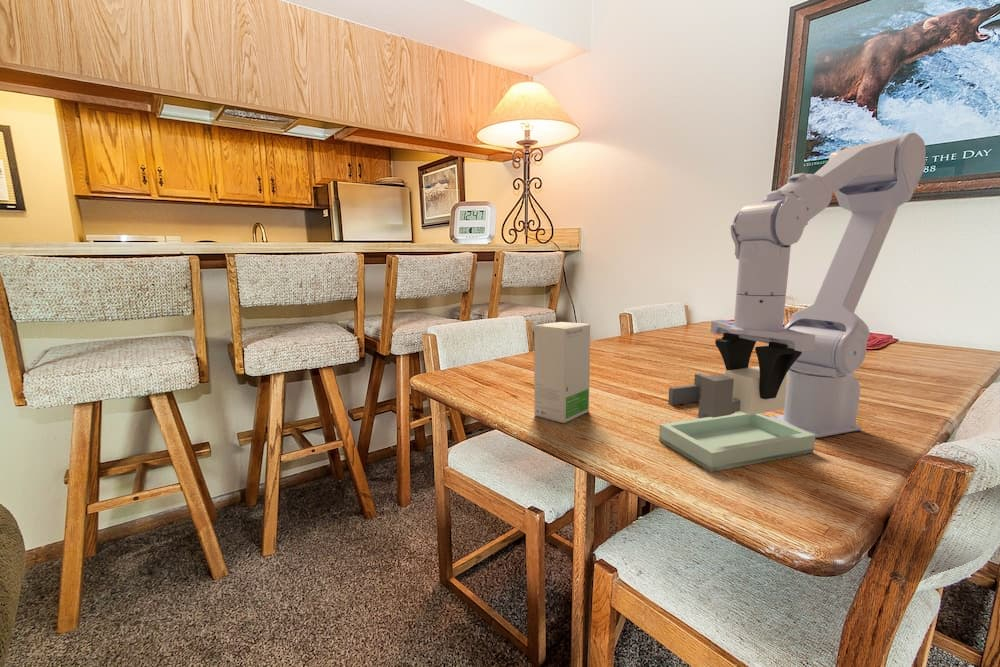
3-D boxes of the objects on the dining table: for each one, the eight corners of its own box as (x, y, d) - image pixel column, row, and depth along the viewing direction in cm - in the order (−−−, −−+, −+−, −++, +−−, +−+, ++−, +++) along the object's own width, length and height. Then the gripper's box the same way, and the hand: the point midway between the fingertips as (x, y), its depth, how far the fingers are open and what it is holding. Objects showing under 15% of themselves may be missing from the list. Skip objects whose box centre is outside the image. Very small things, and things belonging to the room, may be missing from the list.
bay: (697, 399, 81) (699, 373, 80) (734, 414, 73) (736, 385, 72) (668, 403, 79) (669, 376, 78) (702, 419, 71) (704, 389, 70)
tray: (751, 425, 68) (752, 410, 67) (813, 452, 58) (815, 434, 58) (659, 440, 63) (659, 424, 63) (710, 472, 54) (712, 453, 53)
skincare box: (563, 425, 69) (564, 329, 67) (531, 415, 74) (530, 325, 71) (590, 411, 76) (592, 322, 73) (559, 403, 80) (560, 319, 77)
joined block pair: (756, 399, 64) (758, 366, 63) (784, 409, 59) (787, 373, 59) (694, 409, 60) (696, 374, 60) (719, 420, 56) (721, 383, 55)
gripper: (696, 291, 64) (690, 381, 66) (787, 300, 50) (776, 412, 52) (734, 290, 66) (728, 377, 68) (832, 297, 52) (819, 406, 54)
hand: (751, 392), depth 60 cm, fingers closed on joined block pair, 4 cm apart
